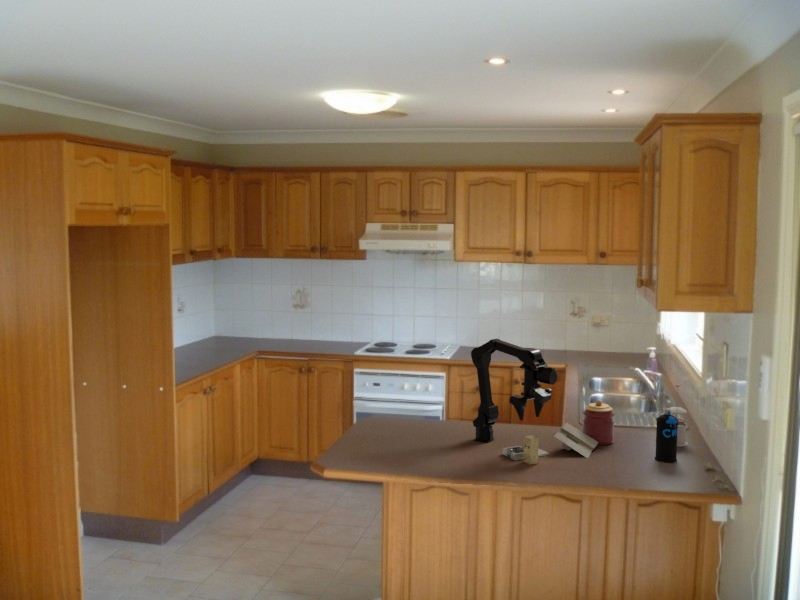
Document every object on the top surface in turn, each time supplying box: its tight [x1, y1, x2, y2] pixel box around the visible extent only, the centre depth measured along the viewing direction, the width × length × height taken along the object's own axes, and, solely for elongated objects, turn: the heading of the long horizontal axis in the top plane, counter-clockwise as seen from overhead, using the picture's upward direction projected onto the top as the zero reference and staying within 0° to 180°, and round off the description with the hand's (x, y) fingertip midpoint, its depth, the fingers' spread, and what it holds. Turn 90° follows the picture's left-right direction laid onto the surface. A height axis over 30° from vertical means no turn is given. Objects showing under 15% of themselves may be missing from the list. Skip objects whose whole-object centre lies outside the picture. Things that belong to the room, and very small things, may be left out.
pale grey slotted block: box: [554, 422, 598, 459], centre depth 318 cm, size 16×9×15 cm
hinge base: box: [502, 445, 550, 461], centre depth 311 cm, size 17×9×3 cm, turn 115°
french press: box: [667, 383, 688, 447], centre depth 327 cm, size 10×12×25 cm
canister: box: [582, 399, 615, 446], centre depth 330 cm, size 13×13×18 cm
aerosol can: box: [654, 408, 679, 464], centre depth 304 cm, size 8×8×20 cm
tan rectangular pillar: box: [523, 434, 539, 466], centre depth 301 cm, size 4×4×10 cm
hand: (529, 418), depth 315 cm, fingers open, 9 cm apart
